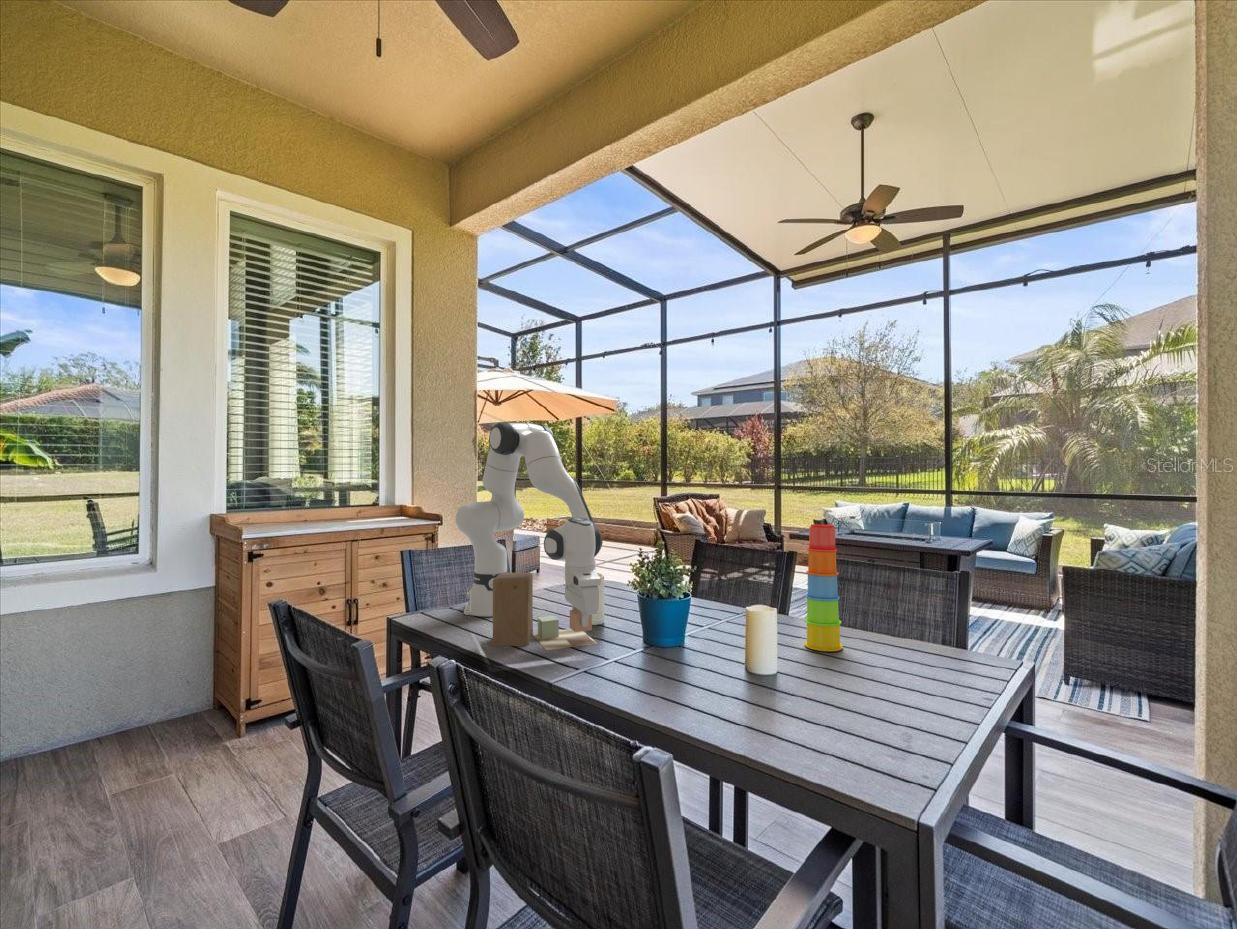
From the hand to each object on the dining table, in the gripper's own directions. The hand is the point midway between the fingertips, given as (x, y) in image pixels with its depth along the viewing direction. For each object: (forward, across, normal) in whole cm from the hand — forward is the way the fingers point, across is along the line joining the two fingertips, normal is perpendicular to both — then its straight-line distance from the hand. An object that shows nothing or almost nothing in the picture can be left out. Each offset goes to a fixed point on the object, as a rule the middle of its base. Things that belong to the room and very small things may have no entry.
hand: (580, 623), depth 167 cm
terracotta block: (+2, 0, 0) cm, 2 cm away
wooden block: (+6, -8, -18) cm, 21 cm away
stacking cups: (+7, +28, +63) cm, 69 cm away
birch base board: (+6, -5, -4) cm, 9 cm away
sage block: (+5, -9, -7) cm, 13 cm away
